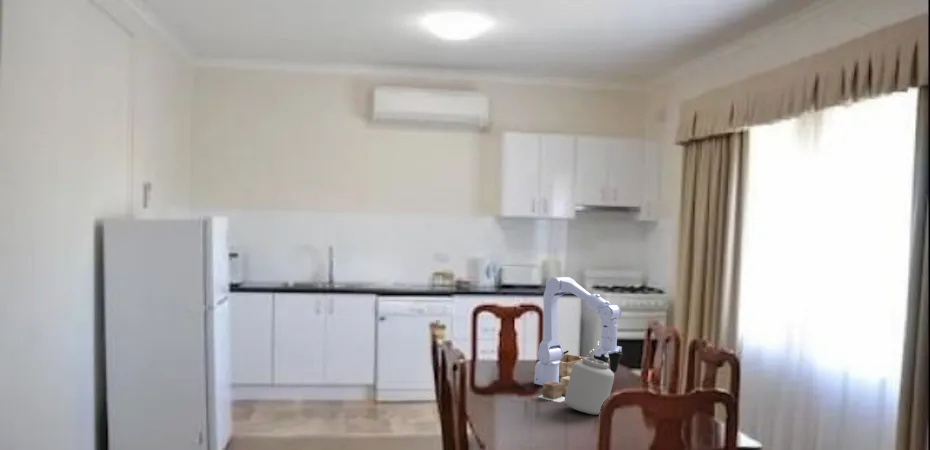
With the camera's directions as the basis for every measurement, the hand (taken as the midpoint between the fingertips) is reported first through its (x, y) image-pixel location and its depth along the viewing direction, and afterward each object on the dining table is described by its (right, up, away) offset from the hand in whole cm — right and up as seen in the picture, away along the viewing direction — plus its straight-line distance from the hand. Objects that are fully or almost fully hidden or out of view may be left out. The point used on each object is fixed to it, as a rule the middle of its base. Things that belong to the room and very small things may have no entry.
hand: (607, 373), depth 280 cm
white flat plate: (-20, -9, -2) cm, 22 cm away
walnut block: (-21, -9, -1) cm, 23 cm away
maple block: (-14, -9, +6) cm, 18 cm away
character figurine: (-9, -5, +58) cm, 59 cm away
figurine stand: (-10, -8, +41) cm, 43 cm away
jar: (-9, -10, -19) cm, 23 cm away
